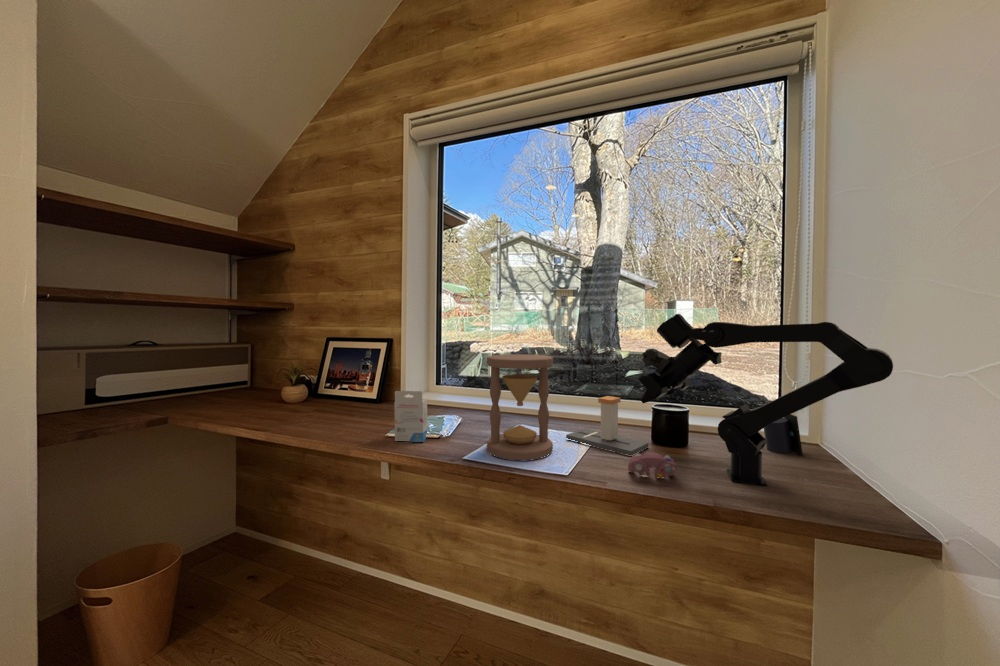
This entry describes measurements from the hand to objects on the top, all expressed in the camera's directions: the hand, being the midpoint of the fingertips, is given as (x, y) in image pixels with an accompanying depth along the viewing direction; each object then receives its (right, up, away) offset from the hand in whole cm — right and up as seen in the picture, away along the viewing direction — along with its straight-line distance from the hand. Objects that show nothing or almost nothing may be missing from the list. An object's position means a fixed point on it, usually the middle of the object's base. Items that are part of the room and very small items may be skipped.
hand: (642, 401), depth 100 cm
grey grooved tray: (-7, -13, +8) cm, 17 cm away
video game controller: (-4, -14, -15) cm, 21 cm away
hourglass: (-32, -14, +3) cm, 35 cm away
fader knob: (-7, -11, +7) cm, 15 cm away
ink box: (-63, -13, +11) cm, 65 cm away
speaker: (+37, -14, +1) cm, 40 cm away
